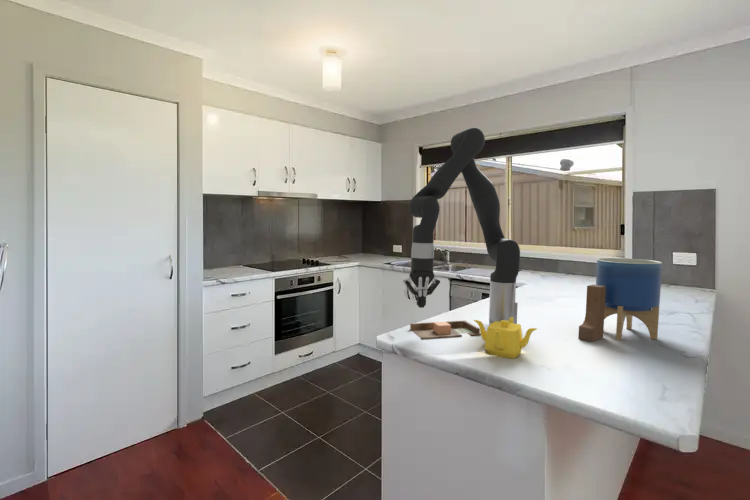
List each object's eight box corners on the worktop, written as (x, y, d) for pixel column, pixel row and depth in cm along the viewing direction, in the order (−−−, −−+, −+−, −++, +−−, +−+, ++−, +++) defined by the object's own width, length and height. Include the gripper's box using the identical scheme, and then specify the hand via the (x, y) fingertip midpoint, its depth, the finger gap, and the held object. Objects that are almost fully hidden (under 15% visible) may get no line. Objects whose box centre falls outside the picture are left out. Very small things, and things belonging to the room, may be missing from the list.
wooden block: (591, 342, 129) (594, 288, 128) (577, 338, 133) (580, 286, 131) (603, 337, 135) (606, 286, 133) (590, 334, 138) (592, 284, 137)
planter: (587, 333, 139) (590, 260, 137) (600, 323, 153) (604, 256, 151) (652, 346, 126) (657, 265, 124) (661, 333, 140) (665, 260, 138)
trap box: (464, 329, 143) (464, 320, 143) (480, 339, 131) (481, 329, 131) (410, 333, 138) (410, 323, 138) (422, 343, 126) (422, 333, 126)
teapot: (495, 361, 111) (496, 328, 110) (471, 346, 125) (472, 316, 124) (539, 357, 114) (540, 325, 114) (511, 343, 128) (512, 314, 127)
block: (445, 330, 137) (445, 321, 137) (450, 333, 133) (451, 325, 132) (433, 330, 136) (433, 322, 136) (438, 334, 132) (438, 325, 131)
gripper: (436, 255, 136) (435, 304, 137) (400, 255, 133) (399, 305, 134) (445, 257, 128) (443, 309, 130) (407, 257, 125) (405, 310, 127)
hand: (421, 307), depth 132 cm, fingers closed
